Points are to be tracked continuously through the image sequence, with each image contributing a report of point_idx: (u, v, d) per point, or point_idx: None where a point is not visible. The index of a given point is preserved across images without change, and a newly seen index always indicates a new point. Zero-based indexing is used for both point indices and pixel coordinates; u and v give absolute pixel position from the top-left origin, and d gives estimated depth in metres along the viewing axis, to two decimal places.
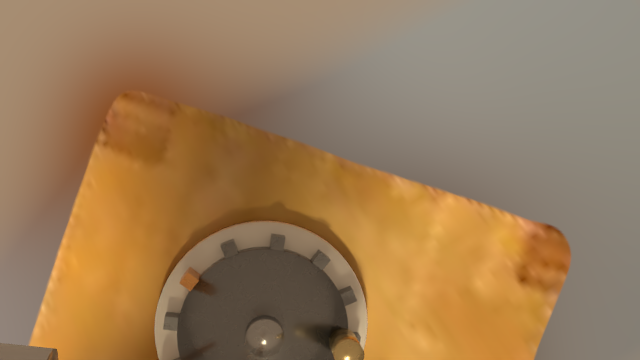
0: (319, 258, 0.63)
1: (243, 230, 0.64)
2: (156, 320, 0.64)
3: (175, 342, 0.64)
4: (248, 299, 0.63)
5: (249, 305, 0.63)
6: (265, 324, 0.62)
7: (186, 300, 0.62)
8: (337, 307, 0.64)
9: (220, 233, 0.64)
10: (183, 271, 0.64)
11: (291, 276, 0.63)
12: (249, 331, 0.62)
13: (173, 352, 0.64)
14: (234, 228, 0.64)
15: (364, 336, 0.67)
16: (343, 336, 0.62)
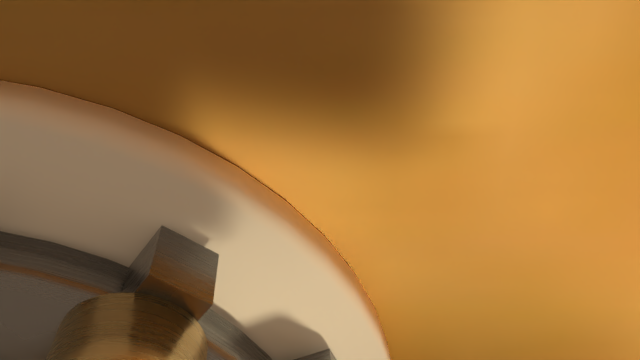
0: None
1: None
2: None
3: None
4: None
5: None
6: None
7: None
8: None
9: None
10: None
11: None
12: None
13: None
14: None
15: (219, 208, 0.13)
16: None
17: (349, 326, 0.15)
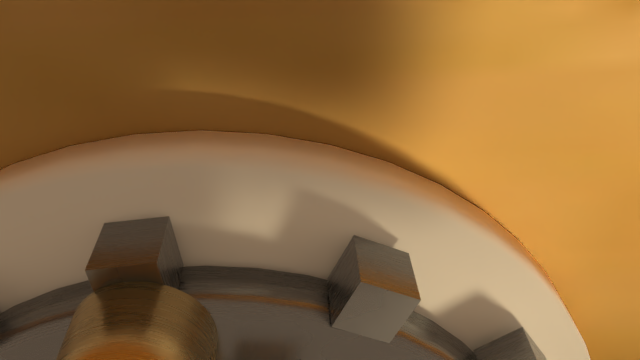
0: None
1: None
2: None
3: None
4: None
5: None
6: None
7: None
8: None
9: None
10: None
11: None
12: None
13: None
14: None
15: (488, 251, 0.14)
16: None
17: (572, 354, 0.16)
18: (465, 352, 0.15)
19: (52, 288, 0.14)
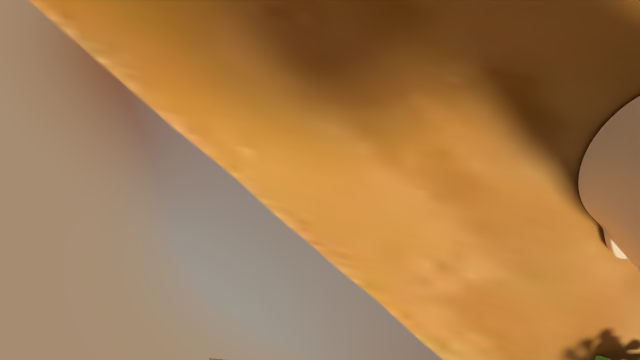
0: None
1: None
2: None
3: None
4: None
5: None
6: None
7: None
8: None
9: None
10: None
11: None
12: None
13: None
14: None
15: None
16: None
17: None
18: None
19: None
